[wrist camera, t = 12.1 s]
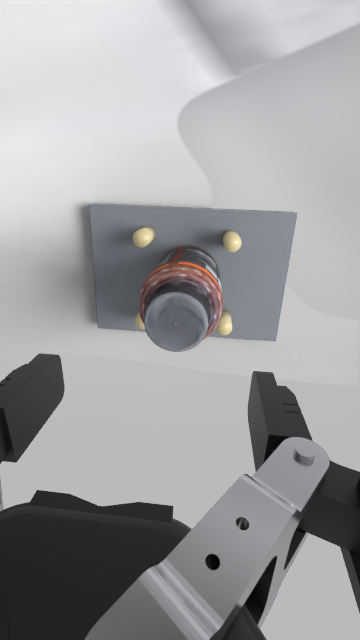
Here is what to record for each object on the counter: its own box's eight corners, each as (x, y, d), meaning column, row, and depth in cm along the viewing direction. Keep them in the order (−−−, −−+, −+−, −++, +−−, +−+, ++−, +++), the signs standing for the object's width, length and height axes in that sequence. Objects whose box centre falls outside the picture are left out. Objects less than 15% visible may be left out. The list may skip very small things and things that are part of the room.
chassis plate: (95, 203, 29) (75, 205, 25) (293, 211, 28) (306, 215, 24) (102, 322, 34) (87, 340, 30) (273, 335, 32) (281, 356, 28)
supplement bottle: (150, 296, 30) (117, 350, 20) (166, 235, 28) (137, 261, 18) (209, 313, 31) (206, 377, 20) (229, 255, 28) (238, 292, 18)
